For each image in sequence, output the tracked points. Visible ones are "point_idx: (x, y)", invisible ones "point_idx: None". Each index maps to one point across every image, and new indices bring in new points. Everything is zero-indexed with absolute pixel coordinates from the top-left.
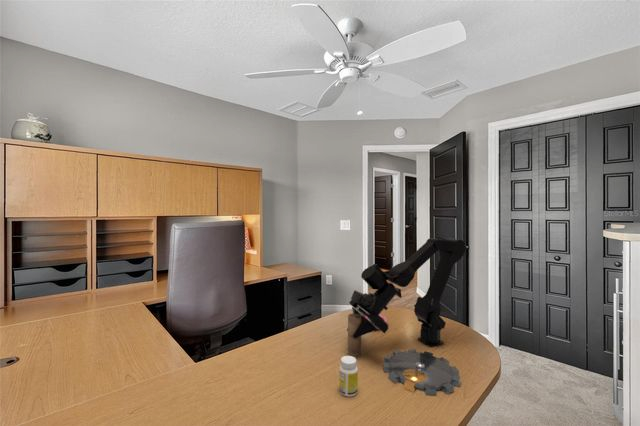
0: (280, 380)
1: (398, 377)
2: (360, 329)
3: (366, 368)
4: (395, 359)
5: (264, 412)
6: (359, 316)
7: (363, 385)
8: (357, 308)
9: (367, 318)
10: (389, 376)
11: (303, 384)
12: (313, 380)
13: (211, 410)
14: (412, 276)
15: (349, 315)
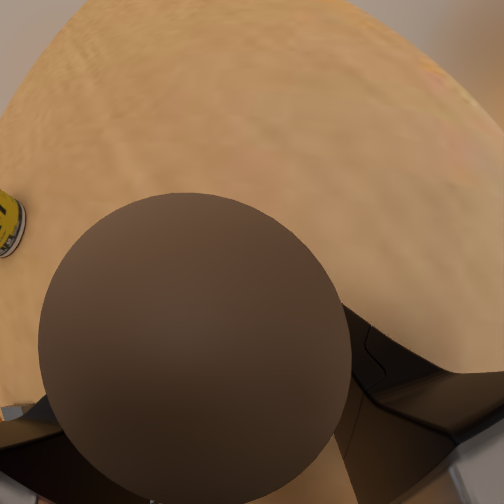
0: (122, 53)
1: None
2: None
3: None
4: None
5: (45, 62)
6: (136, 456)
7: (14, 289)
8: (489, 494)
9: (11, 498)
10: (23, 405)
11: (80, 103)
12: (83, 125)
13: (93, 6)
14: None
15: (221, 229)
